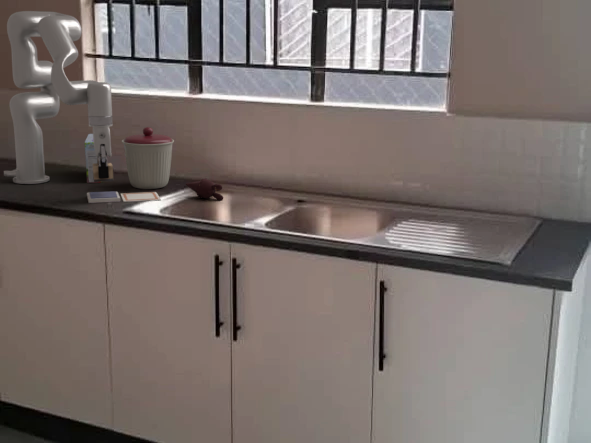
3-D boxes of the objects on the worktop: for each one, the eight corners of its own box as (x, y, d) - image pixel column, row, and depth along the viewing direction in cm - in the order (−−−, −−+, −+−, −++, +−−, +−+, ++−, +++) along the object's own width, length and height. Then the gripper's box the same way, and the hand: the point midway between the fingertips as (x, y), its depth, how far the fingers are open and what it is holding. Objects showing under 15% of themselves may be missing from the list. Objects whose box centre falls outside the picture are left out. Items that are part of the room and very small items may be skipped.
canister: (121, 182, 298) (119, 124, 293) (171, 180, 303) (170, 123, 298) (125, 192, 282) (123, 131, 276) (178, 190, 286) (177, 130, 281)
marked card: (123, 202, 268) (123, 200, 268) (120, 194, 279) (120, 193, 279) (160, 200, 271) (160, 199, 271) (156, 192, 282) (156, 191, 282)
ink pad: (88, 202, 266) (88, 198, 265) (87, 196, 275) (86, 192, 275) (120, 201, 269) (120, 197, 268) (117, 195, 278) (117, 190, 277)
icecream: (178, 179, 274) (215, 188, 267) (191, 170, 280) (228, 179, 273) (180, 197, 277) (217, 207, 271) (193, 188, 283) (229, 197, 276)
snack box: (89, 172, 316) (87, 133, 313) (104, 172, 317) (103, 133, 314) (85, 183, 296) (83, 141, 292) (101, 183, 297) (100, 141, 293)
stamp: (94, 181, 266) (93, 160, 265) (93, 178, 272) (92, 157, 270) (113, 181, 268) (112, 159, 266) (111, 177, 274) (110, 156, 272)
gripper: (114, 124, 259) (117, 180, 263) (110, 118, 275) (112, 171, 279) (90, 124, 256) (92, 181, 261) (87, 118, 273) (89, 172, 277)
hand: (103, 175), depth 270 cm, fingers closed on stamp, 6 cm apart
